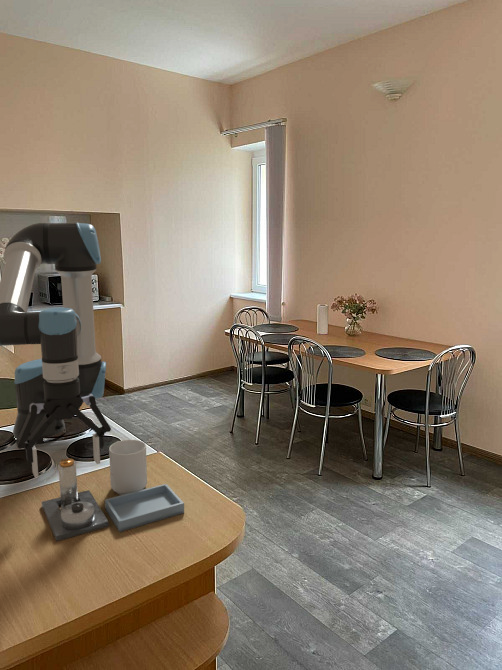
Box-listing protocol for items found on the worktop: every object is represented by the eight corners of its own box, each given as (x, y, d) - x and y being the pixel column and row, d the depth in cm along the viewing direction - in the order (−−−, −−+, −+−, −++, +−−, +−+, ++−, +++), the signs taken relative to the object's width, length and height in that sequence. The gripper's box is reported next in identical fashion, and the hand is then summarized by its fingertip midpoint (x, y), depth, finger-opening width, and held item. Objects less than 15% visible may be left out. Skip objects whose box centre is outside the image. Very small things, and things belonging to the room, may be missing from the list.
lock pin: (59, 506, 124) (56, 459, 122) (76, 502, 126) (73, 456, 124) (63, 514, 121) (60, 466, 119) (80, 509, 123) (77, 462, 120)
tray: (119, 532, 114) (119, 521, 114) (105, 509, 123) (104, 499, 123) (184, 512, 122) (184, 503, 122) (166, 492, 131) (166, 483, 130)
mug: (150, 493, 131) (148, 451, 128) (113, 499, 128) (111, 456, 125) (142, 472, 142) (140, 433, 139) (108, 477, 139) (106, 437, 136)
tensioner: (41, 506, 124) (40, 488, 123) (89, 494, 130) (88, 477, 129) (56, 541, 111) (55, 521, 110) (108, 526, 116) (107, 507, 115)
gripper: (1, 391, 107) (10, 488, 112) (122, 374, 120) (125, 462, 124) (-3, 382, 114) (5, 474, 118) (112, 367, 126) (115, 450, 131)
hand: (67, 468), depth 121 cm, fingers open, 13 cm apart
